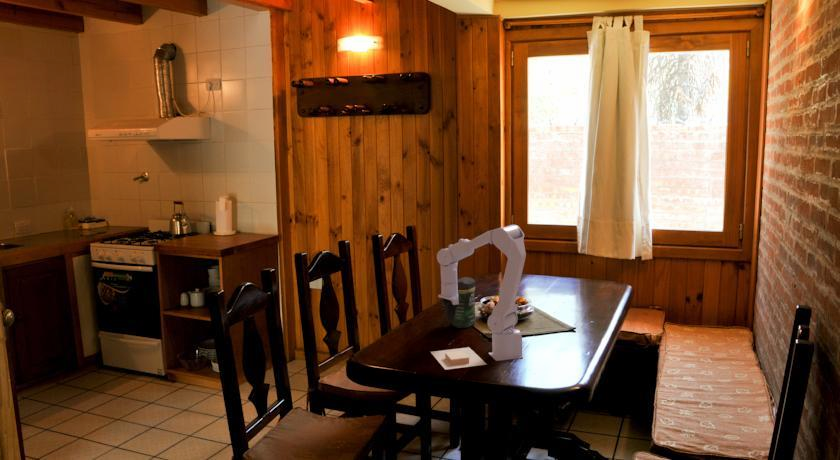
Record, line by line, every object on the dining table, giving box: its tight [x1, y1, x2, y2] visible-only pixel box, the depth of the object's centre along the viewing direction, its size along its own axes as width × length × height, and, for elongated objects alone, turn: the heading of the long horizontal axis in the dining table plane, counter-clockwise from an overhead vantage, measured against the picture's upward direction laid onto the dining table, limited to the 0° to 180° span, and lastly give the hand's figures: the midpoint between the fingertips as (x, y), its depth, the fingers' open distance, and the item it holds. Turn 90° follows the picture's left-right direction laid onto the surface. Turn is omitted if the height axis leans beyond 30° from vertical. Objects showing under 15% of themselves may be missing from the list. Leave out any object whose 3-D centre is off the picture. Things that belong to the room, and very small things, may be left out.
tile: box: [445, 351, 469, 365], centre depth 220 cm, size 6×2×7 cm
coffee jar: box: [451, 276, 477, 329], centre depth 259 cm, size 10×8×19 cm
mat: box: [430, 346, 488, 371], centre depth 223 cm, size 14×18×1 cm
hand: (450, 319), depth 235 cm, fingers closed
